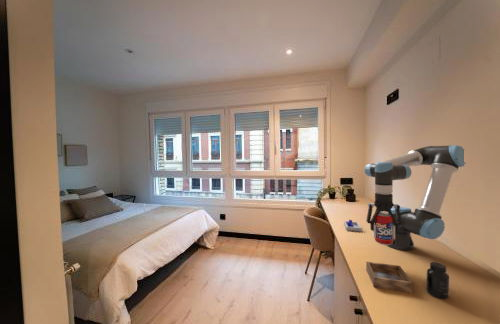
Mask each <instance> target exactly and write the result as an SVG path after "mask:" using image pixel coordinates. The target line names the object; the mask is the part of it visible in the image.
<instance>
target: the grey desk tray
mask: <svg viewBox="0 0 500 324" xmlns="http://www.w3.org/2000/svg"><path fill="white" fill-rule="evenodd" d="M348 222H349V220H344V221H343V226H344V227H345V228H344V229H345V231H346V232H347V231H348V232H358V233H362V231H363V230H362V229H363V228H362V226H361V224H360V223H359V221H352V225H354V227H348Z"/></svg>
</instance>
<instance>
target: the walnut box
mask: <svg viewBox="0 0 500 324" xmlns="http://www.w3.org/2000/svg"><path fill="white" fill-rule="evenodd" d="M365 263H366V264H365V265H366V267H365V268H366V269H365V270H366V273H367V274H368V277H369V279H370V281H371V284H372V286H373V288H377V287H378V288H379V289H385V290H392V291H397V292H402V293H403V292H404V293H411V294H413V293H414V283H413V281H412V280H411V278H410V277H409V276H408V275H407V273H406V272H405V271H404V268H402V267H401V265H395V264H387V263H380V262H373V261H366V262H365Z"/></svg>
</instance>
